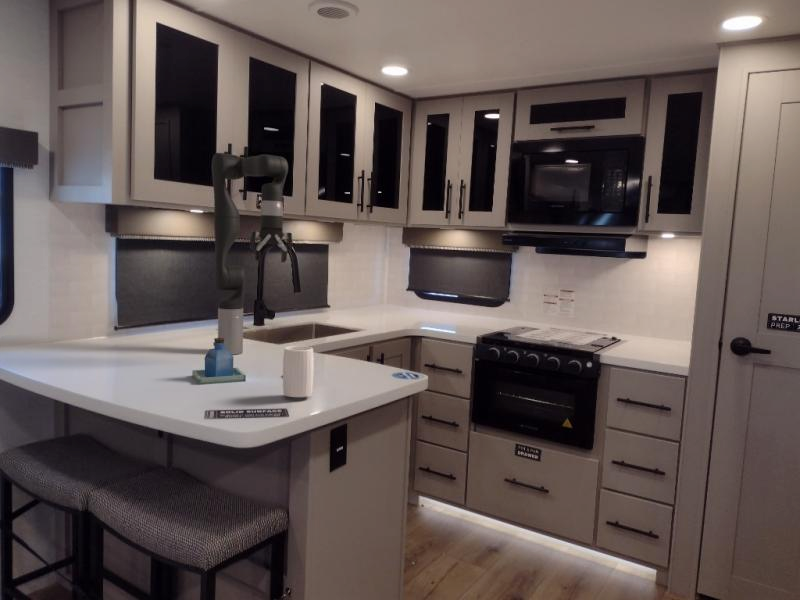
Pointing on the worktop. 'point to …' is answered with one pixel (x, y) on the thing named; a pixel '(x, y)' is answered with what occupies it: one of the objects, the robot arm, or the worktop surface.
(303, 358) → the cup
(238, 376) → the tray
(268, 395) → the worktop surface
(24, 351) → the worktop surface
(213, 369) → the perfume bottle
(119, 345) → the worktop surface
